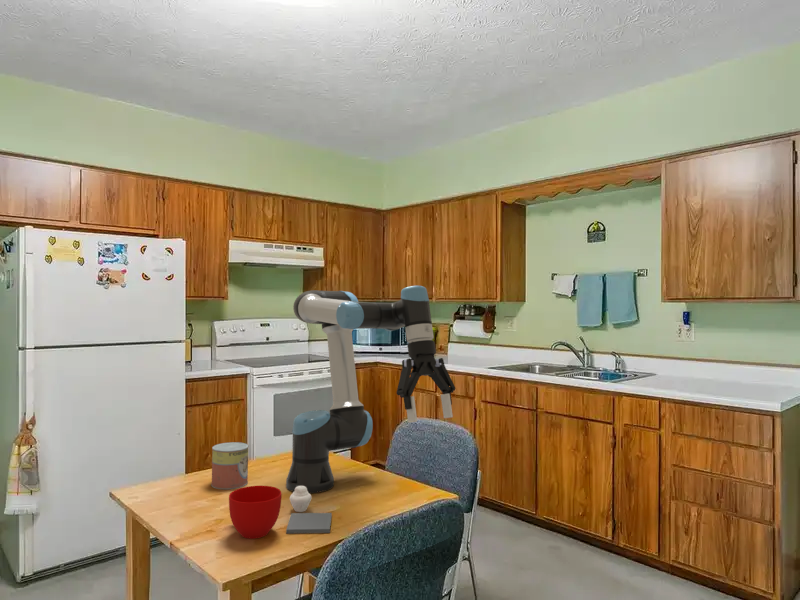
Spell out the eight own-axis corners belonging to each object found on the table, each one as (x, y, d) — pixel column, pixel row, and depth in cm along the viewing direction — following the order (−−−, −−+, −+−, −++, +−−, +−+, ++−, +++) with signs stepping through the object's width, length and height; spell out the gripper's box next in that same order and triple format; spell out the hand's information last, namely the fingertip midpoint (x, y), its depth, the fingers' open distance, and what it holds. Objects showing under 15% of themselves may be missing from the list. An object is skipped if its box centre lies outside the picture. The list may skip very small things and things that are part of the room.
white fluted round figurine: (285, 509, 155) (285, 485, 155) (303, 504, 159) (303, 480, 159) (297, 516, 150) (297, 490, 150) (315, 510, 154) (316, 485, 154)
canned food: (237, 490, 170) (238, 452, 170) (204, 487, 172) (205, 449, 172) (253, 479, 181) (254, 443, 181) (222, 477, 183) (223, 441, 183)
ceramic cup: (255, 515, 150) (255, 478, 150) (290, 533, 138) (291, 494, 139) (210, 528, 141) (211, 489, 141) (245, 549, 129) (246, 506, 129)
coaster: (291, 516, 149) (291, 513, 149) (331, 516, 150) (331, 512, 150) (286, 533, 138) (286, 529, 138) (329, 532, 139) (329, 528, 139)
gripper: (396, 338, 139) (406, 423, 134) (460, 339, 156) (472, 414, 151) (377, 343, 144) (386, 425, 139) (441, 344, 161) (452, 417, 156)
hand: (431, 420), depth 145 cm, fingers open, 13 cm apart
